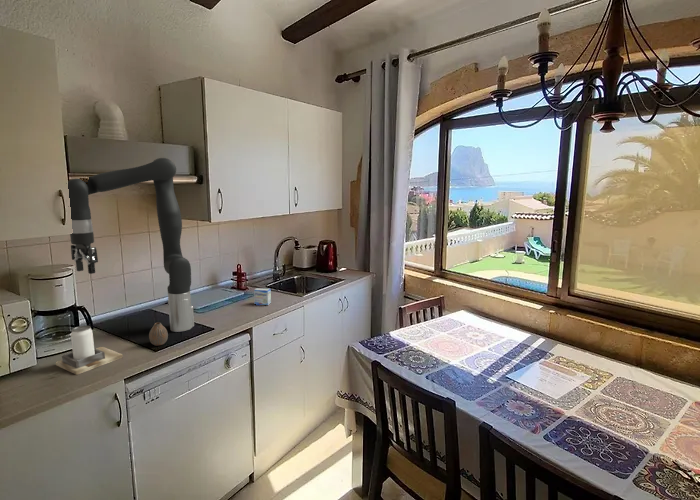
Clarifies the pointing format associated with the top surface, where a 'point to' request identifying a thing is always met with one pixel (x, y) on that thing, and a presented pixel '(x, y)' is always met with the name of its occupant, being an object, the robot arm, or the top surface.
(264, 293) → the medicine box
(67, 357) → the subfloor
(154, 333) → the vase
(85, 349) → the can
